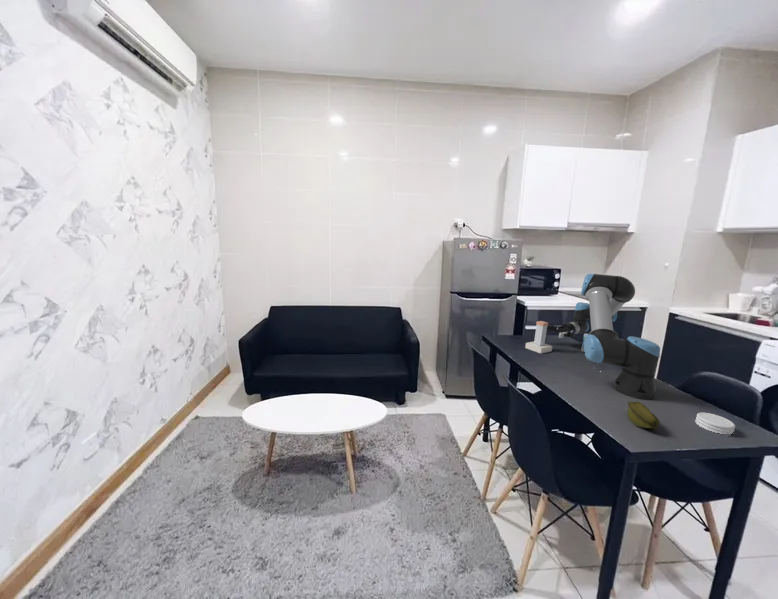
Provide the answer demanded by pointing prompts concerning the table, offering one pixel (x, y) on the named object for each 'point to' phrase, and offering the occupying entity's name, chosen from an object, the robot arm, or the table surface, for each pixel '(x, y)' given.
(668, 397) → the table surface
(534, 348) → the white square base
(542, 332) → the plug
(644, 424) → the fruit
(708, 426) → the white ridged lid
